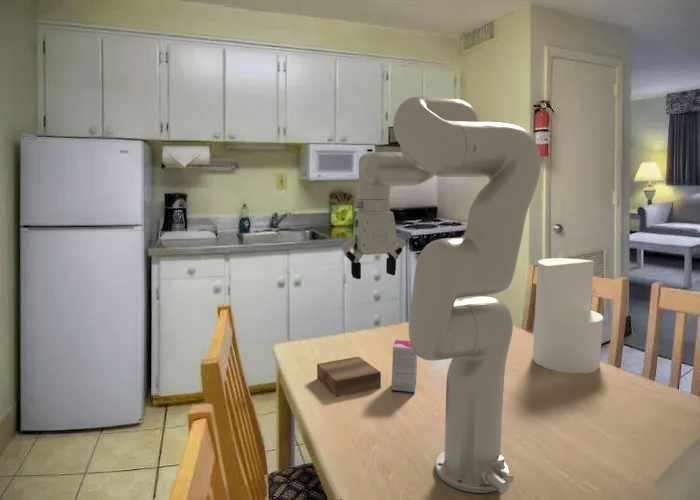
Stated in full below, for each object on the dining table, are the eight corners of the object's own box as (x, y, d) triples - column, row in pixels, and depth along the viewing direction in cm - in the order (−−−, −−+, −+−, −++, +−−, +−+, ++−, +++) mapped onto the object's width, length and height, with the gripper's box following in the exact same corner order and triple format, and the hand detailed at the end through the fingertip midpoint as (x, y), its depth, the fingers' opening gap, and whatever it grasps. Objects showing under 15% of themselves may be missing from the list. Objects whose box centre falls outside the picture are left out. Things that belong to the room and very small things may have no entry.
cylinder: (519, 356, 144) (524, 260, 140) (563, 347, 151) (568, 256, 147) (568, 378, 128) (574, 271, 124) (614, 367, 135) (622, 266, 131)
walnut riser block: (380, 387, 123) (380, 372, 122) (336, 397, 118) (336, 381, 117) (358, 370, 134) (358, 356, 133) (317, 378, 128) (317, 363, 128)
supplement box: (415, 394, 119) (416, 348, 117) (390, 392, 120) (391, 347, 118) (417, 384, 125) (417, 340, 123) (393, 382, 126) (394, 339, 124)
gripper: (349, 208, 112) (349, 282, 115) (413, 206, 120) (411, 275, 123) (335, 206, 119) (335, 276, 121) (396, 204, 127) (395, 270, 129)
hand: (373, 276), depth 122 cm, fingers open, 9 cm apart
